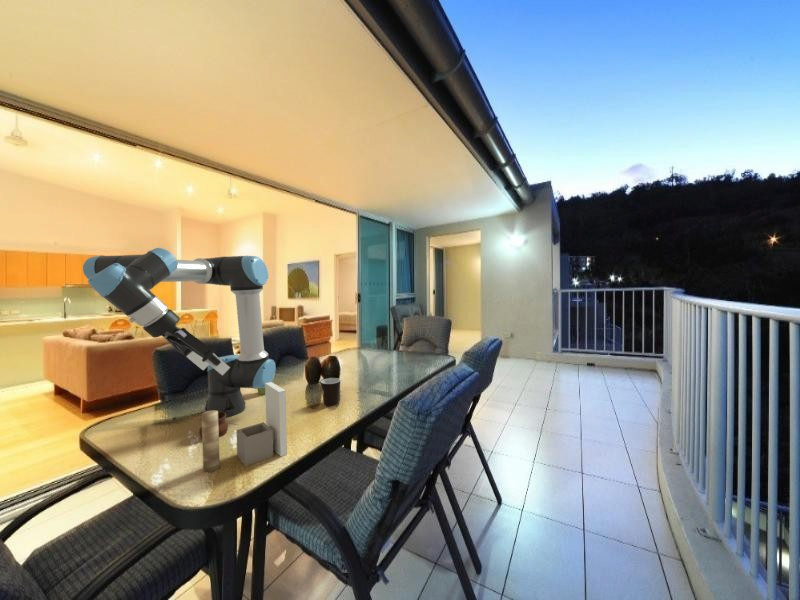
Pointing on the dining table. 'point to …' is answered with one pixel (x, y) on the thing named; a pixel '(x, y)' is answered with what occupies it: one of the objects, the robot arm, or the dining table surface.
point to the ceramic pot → (220, 424)
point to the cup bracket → (265, 430)
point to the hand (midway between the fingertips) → (215, 369)
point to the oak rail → (210, 441)
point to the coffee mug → (330, 391)
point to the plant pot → (262, 390)
